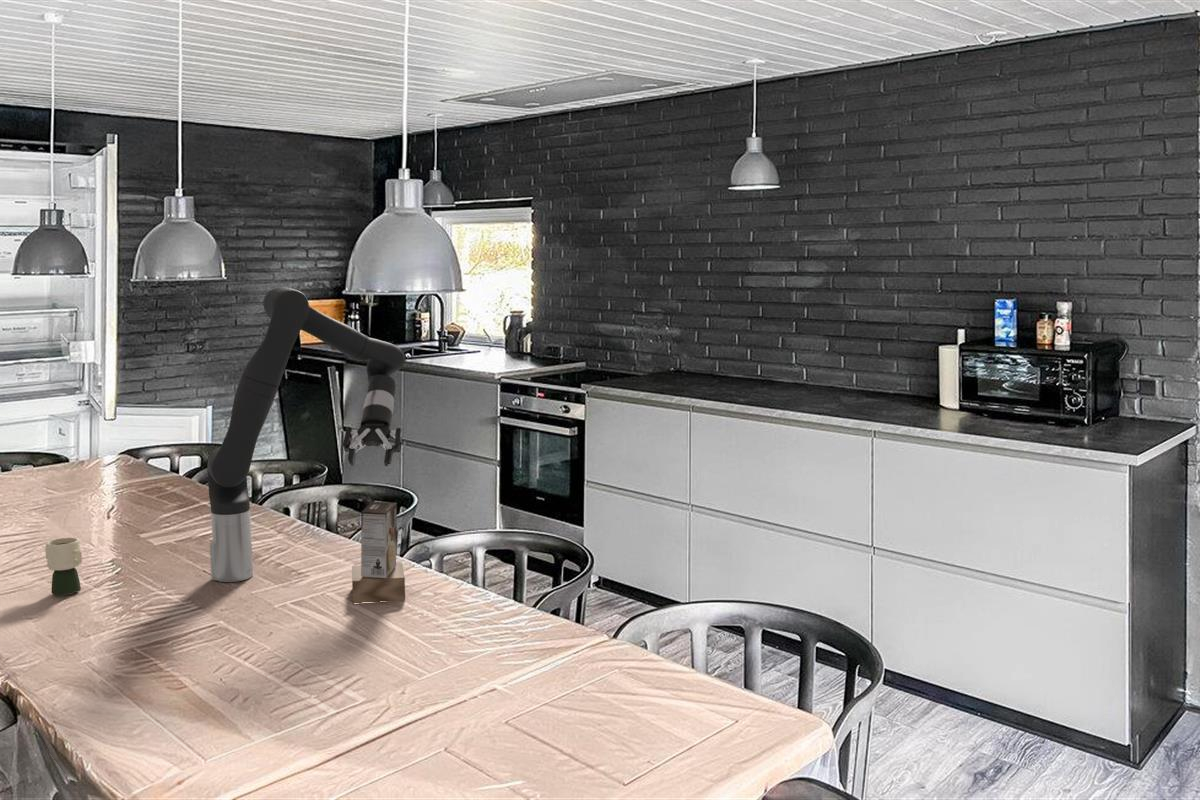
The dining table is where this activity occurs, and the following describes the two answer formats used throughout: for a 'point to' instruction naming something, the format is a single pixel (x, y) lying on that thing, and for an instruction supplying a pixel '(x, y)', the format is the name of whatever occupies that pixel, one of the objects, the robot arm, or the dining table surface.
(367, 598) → the walnut block
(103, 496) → the dining table surface
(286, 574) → the dining table surface
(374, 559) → the coffee box
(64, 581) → the character mug
